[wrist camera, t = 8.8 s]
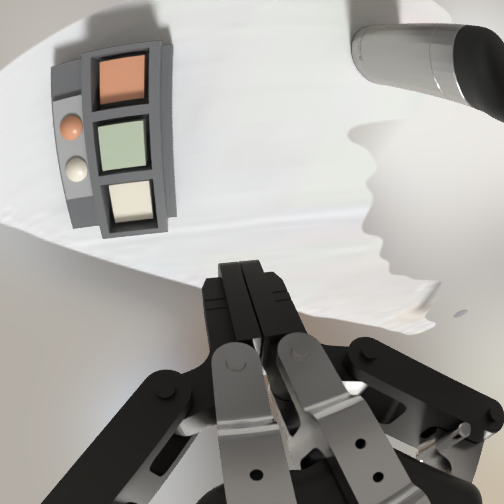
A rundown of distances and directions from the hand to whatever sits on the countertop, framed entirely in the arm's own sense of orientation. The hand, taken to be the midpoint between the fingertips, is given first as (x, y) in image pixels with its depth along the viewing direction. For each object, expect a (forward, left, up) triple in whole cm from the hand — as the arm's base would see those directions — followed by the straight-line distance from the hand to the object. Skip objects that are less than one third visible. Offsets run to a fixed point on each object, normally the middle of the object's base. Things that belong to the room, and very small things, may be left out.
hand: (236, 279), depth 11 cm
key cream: (+8, +5, -23) cm, 25 cm away
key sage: (+8, -1, -21) cm, 23 cm away
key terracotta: (+8, -8, -23) cm, 25 cm away
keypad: (+10, -1, -26) cm, 27 cm away
